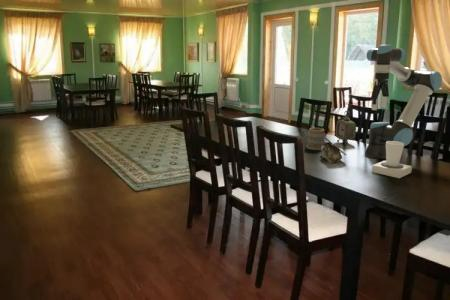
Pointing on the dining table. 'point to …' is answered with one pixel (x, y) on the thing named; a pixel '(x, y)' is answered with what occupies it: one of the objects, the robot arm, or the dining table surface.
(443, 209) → the dining table surface
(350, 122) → the tabletop clock
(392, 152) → the foam cup
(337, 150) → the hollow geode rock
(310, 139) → the tankard
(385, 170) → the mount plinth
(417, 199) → the dining table surface
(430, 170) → the dining table surface
